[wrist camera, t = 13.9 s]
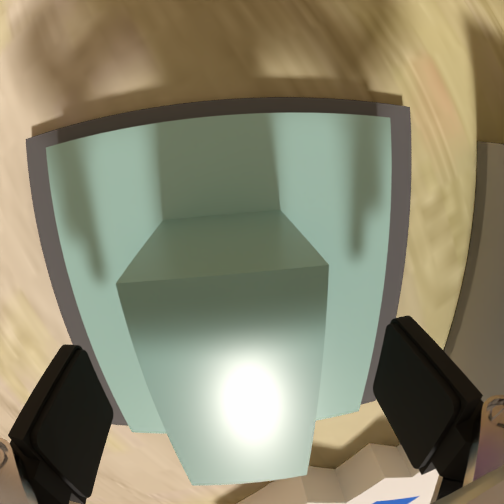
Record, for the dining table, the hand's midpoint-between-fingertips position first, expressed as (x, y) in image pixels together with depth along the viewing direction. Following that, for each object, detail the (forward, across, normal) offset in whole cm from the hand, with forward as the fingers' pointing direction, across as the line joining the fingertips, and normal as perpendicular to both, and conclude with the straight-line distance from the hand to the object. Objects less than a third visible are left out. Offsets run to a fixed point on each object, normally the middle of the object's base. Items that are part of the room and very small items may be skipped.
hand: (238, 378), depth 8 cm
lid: (+4, 0, 0) cm, 4 cm away
